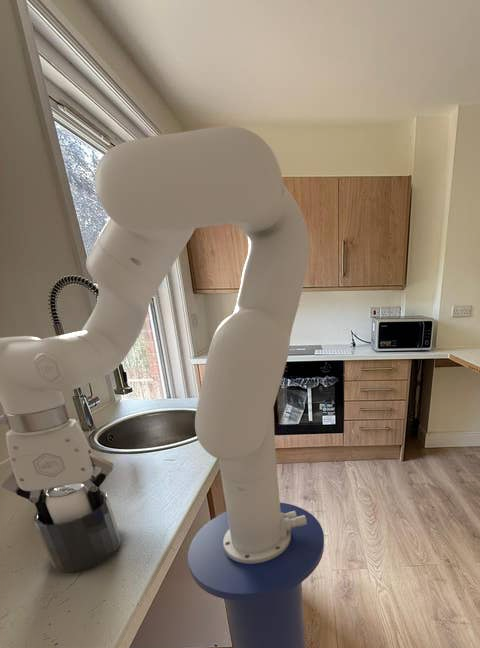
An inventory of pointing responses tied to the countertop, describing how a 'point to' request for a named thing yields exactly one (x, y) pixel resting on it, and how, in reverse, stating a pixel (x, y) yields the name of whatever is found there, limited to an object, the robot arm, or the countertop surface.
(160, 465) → the countertop surface
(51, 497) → the can
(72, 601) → the countertop surface
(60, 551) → the open gray tub
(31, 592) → the countertop surface
